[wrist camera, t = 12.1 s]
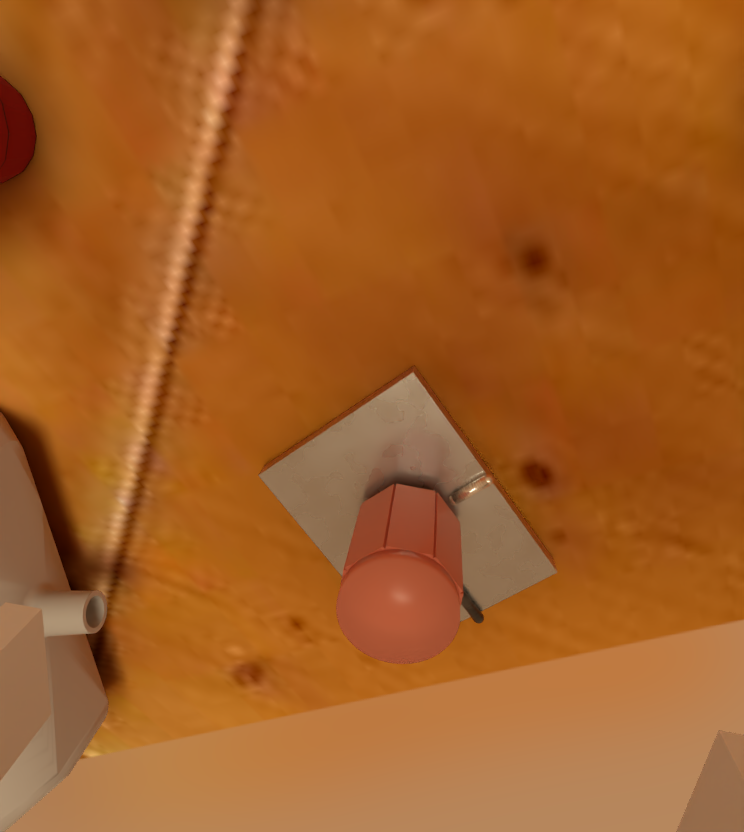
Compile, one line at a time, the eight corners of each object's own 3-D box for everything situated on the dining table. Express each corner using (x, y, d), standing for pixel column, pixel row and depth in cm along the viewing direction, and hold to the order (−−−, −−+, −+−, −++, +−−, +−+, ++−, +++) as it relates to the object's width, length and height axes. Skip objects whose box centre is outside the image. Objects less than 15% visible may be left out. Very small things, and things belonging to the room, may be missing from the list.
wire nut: (476, 544, 38) (484, 631, 31) (395, 589, 40) (383, 681, 32) (419, 468, 37) (413, 539, 29) (337, 517, 39) (311, 596, 31)
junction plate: (560, 562, 41) (592, 666, 32) (408, 640, 44) (399, 753, 35) (417, 363, 37) (408, 417, 28) (264, 465, 41) (214, 542, 32)
